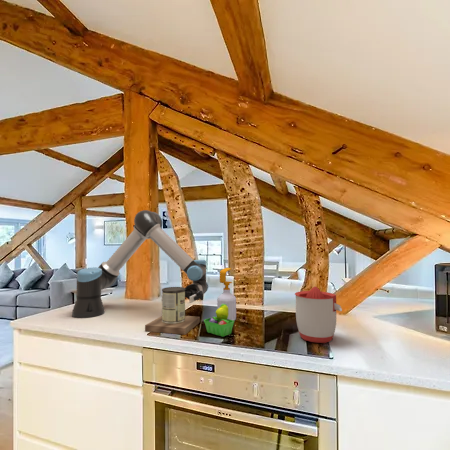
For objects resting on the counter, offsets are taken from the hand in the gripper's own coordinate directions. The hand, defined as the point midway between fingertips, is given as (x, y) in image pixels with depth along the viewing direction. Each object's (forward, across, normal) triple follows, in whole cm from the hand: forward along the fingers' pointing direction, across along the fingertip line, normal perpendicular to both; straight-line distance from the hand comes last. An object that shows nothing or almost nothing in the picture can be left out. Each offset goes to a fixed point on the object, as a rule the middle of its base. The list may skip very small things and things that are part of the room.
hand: (176, 299), depth 127 cm
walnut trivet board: (+2, 0, -12) cm, 12 cm away
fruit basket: (+4, -22, -12) cm, 25 cm away
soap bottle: (-16, -20, -12) cm, 28 cm away
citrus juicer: (+2, -61, -12) cm, 62 cm away
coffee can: (+2, 0, -9) cm, 9 cm away
